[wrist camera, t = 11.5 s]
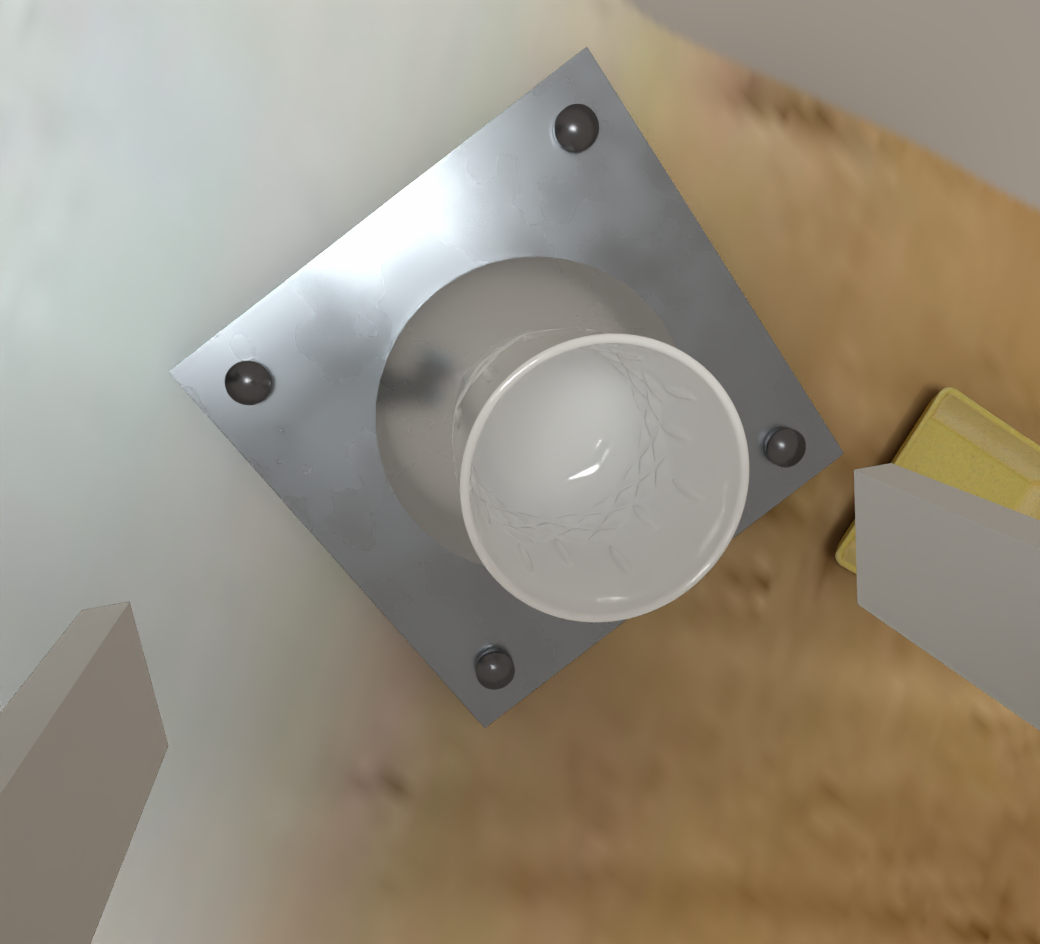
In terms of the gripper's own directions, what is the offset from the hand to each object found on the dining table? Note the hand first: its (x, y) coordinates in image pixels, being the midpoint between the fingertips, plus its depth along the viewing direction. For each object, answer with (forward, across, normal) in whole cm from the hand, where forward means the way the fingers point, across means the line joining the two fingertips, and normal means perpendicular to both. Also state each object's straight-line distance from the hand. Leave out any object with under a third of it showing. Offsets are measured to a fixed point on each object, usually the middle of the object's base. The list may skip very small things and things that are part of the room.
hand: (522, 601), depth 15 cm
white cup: (+17, +4, 0) cm, 18 cm away
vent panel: (+19, +4, 0) cm, 19 cm away
